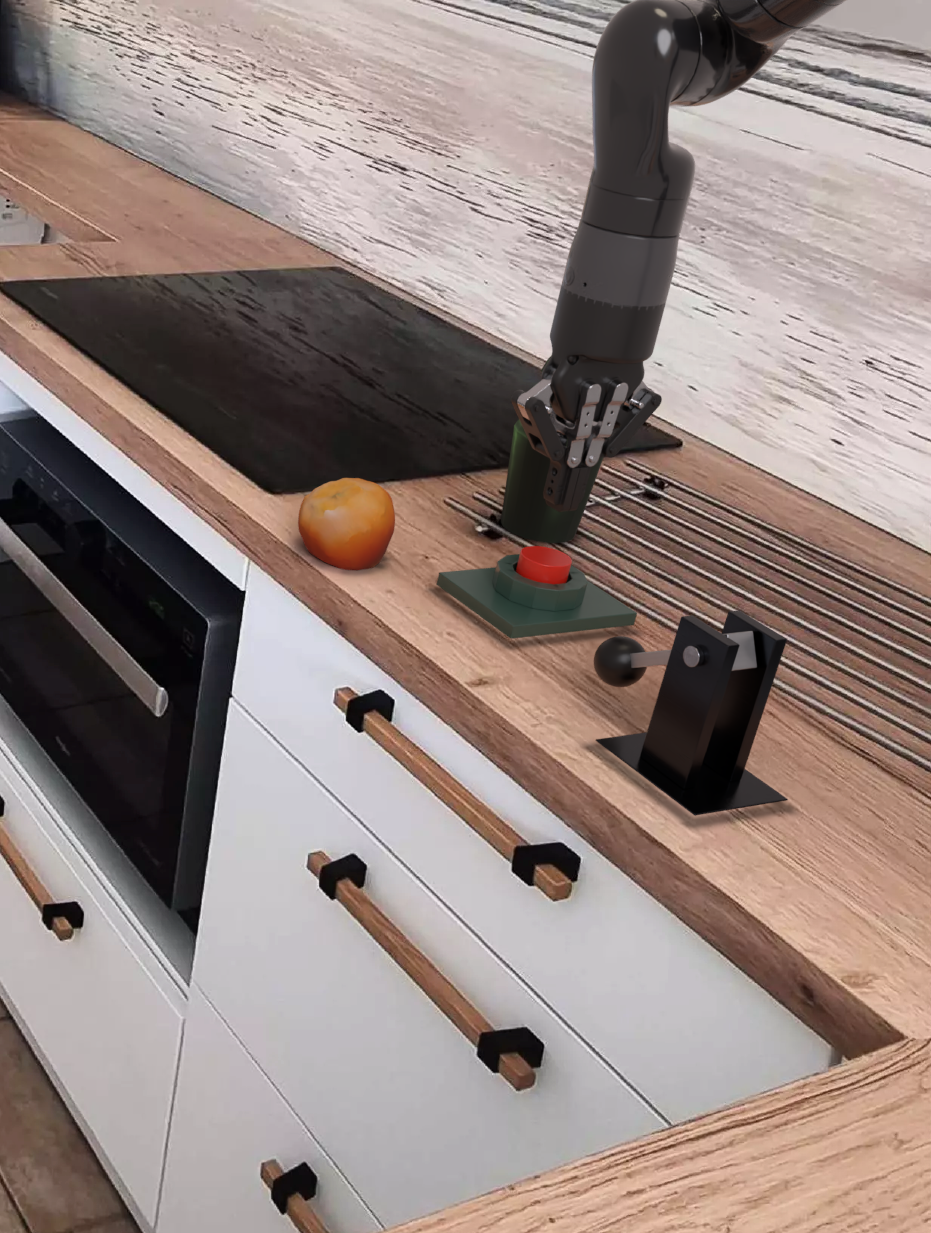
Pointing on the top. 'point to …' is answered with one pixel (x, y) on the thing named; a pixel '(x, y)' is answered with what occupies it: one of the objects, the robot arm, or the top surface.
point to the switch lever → (653, 658)
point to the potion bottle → (537, 495)
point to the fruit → (347, 523)
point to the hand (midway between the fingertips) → (560, 507)
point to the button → (544, 565)
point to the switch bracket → (707, 718)
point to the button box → (534, 601)
